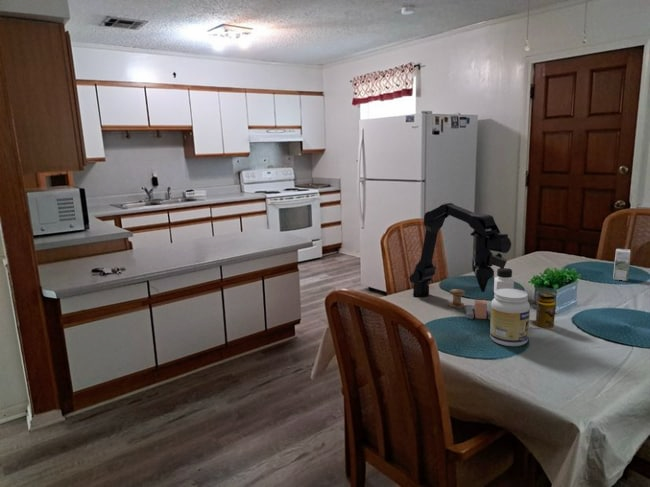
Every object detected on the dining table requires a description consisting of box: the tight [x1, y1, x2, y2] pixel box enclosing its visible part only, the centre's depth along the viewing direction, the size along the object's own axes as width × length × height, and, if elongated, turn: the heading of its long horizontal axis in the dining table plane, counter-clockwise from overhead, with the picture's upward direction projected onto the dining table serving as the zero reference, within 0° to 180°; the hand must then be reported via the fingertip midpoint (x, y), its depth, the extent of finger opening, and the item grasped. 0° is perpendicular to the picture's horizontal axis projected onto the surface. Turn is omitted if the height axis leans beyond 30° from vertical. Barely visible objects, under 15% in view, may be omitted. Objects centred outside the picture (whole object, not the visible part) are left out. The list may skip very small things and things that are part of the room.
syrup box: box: [612, 248, 631, 282], centre depth 213 cm, size 6×6×14 cm
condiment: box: [529, 292, 557, 331], centre depth 164 cm, size 7×8×12 cm
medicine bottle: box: [493, 267, 515, 294], centre depth 198 cm, size 7×7×12 cm
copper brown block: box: [473, 299, 488, 320], centre depth 175 cm, size 4×4×6 cm
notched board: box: [464, 304, 491, 321], centre depth 177 cm, size 10×10×2 cm
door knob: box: [448, 288, 466, 309], centre depth 187 cm, size 6×6×6 cm
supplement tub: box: [489, 288, 531, 347], centre depth 152 cm, size 12×12×17 cm
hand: (481, 288), depth 173 cm, fingers open, 9 cm apart
